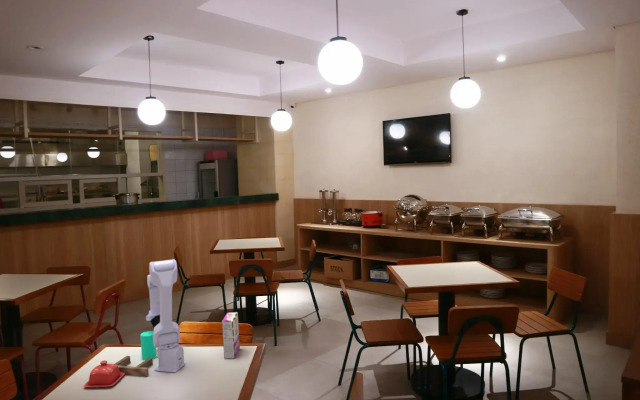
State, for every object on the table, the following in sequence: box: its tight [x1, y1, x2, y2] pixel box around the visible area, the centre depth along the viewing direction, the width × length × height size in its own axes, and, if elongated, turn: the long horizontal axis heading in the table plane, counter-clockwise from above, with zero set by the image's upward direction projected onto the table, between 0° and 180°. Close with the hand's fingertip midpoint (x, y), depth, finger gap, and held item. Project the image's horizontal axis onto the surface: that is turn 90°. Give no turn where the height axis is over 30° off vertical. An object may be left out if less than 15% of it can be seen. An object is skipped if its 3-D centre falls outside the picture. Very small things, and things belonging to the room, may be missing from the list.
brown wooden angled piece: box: [114, 355, 154, 378], centre depth 186 cm, size 20×10×3 cm, turn 77°
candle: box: [139, 330, 158, 361], centre depth 197 cm, size 6×6×12 cm
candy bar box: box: [221, 311, 241, 360], centre depth 198 cm, size 11×5×16 cm, turn 179°
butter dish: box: [83, 360, 125, 388], centre depth 175 cm, size 12×12×8 cm
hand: (158, 331), depth 205 cm, fingers closed
